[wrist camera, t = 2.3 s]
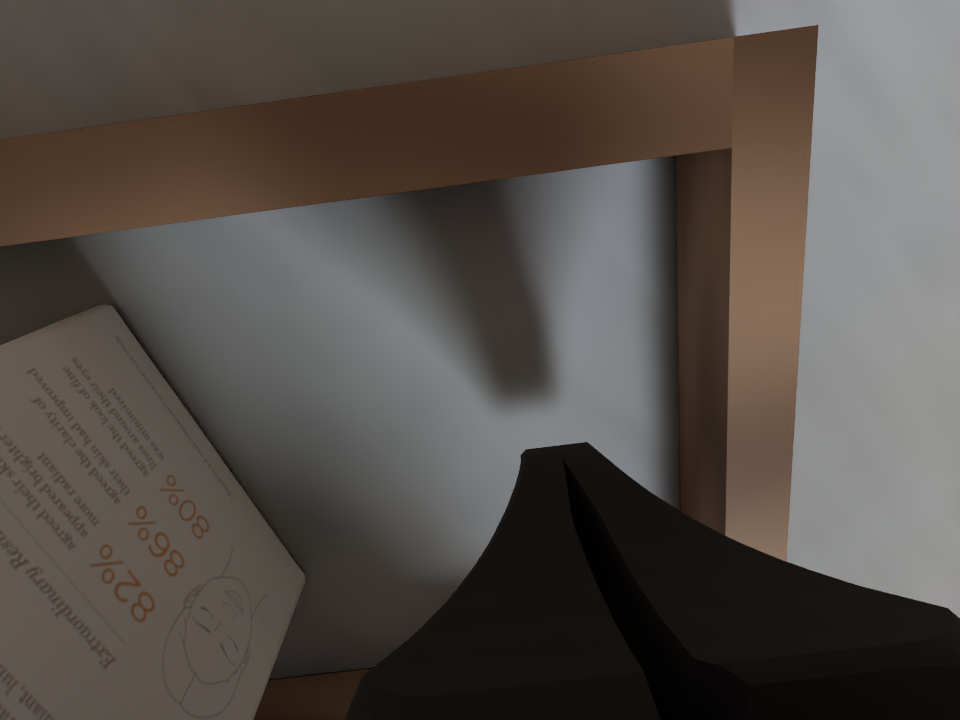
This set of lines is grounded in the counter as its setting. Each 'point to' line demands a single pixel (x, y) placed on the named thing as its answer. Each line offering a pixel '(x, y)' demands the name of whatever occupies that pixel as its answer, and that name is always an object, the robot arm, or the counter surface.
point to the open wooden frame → (505, 154)
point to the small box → (125, 542)
